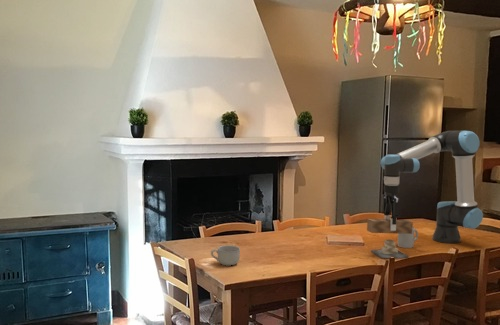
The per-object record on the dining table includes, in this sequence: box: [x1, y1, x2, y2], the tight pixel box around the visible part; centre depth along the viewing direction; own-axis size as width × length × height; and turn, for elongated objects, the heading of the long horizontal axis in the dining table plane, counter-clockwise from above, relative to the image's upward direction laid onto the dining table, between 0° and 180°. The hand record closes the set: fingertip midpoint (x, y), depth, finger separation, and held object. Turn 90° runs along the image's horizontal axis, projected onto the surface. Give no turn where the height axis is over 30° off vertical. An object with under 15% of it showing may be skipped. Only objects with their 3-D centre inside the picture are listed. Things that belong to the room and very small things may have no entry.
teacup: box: [210, 244, 241, 267], centre depth 227 cm, size 14×11×8 cm
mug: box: [397, 226, 419, 249], centre depth 265 cm, size 12×8×11 cm
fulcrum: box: [370, 239, 410, 260], centre depth 246 cm, size 14×14×8 cm
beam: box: [366, 218, 414, 234], centre depth 245 cm, size 22×6×6 cm, turn 100°
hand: (390, 229), depth 245 cm, fingers closed on beam, 6 cm apart
